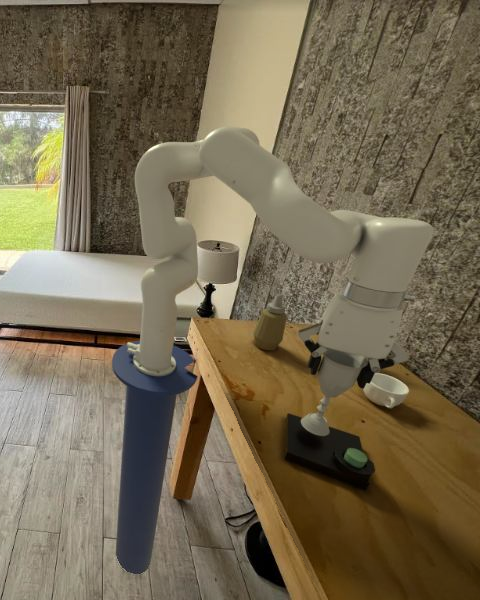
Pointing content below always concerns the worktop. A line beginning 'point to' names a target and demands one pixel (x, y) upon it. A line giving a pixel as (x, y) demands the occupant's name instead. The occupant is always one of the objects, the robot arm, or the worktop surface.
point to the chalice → (333, 384)
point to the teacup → (386, 390)
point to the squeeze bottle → (271, 325)
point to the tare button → (355, 457)
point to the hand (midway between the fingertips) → (335, 376)
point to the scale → (325, 453)
